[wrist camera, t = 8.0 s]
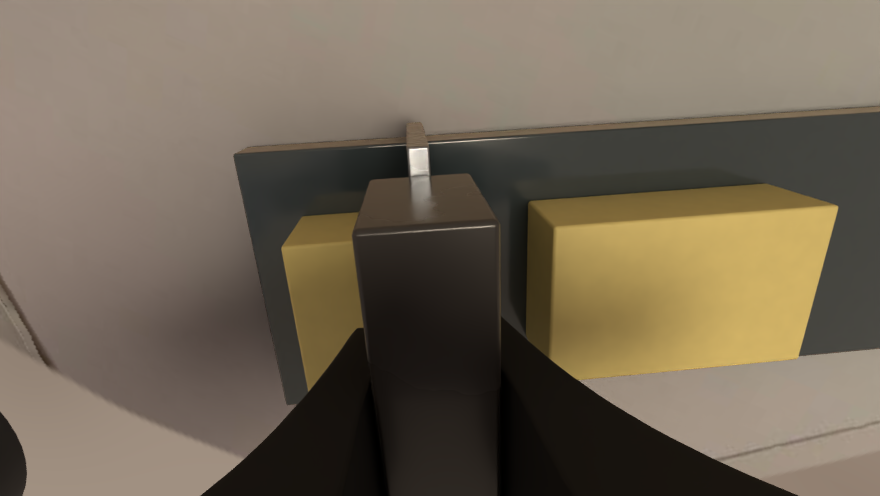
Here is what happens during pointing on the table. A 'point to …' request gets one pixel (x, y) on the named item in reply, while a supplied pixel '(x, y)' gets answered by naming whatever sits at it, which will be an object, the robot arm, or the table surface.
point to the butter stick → (673, 278)
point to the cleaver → (432, 328)
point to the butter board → (593, 174)
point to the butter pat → (322, 288)
